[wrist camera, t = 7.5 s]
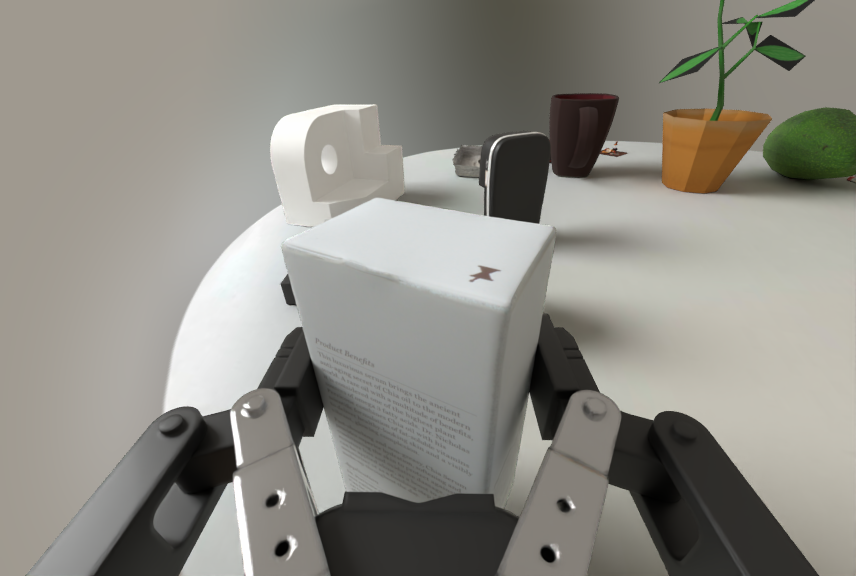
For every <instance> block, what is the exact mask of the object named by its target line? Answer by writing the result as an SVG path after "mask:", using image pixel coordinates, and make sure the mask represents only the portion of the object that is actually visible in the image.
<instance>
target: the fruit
mask: <svg viewBox="0 0 856 576" xmlns="http://www.w3.org/2000/svg"><path fill="white" fill-rule="evenodd" d="M763 157H764V159H765V160H766V162H767V163H768V165H769V166H770V168H771V169H772V170H774V171H776V172H778V173H780V174H782V175H784V176H787V177H789V178H799V179H825V178H840V177H848V176H853V175H855V174H856V115H855V114H853V113H852V112H851V111H850V110H846V109H837V108H821V109H815V110H810V111H805V112H803V113H800V114H798V115H796V116H794V117H791V118H789V119H788V120H786V121H785V122H783V123H782V124H780V125H779V126H777V127H776V128H775V129H774V130H773V131H772V132H771V133H770V134H769V135H768V137H767V139H766V141H765V143H764V146H763Z"/></svg>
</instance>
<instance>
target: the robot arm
mask: <svg viewBox="0 0 856 576" xmlns="http://www.w3.org/2000/svg"><path fill="white" fill-rule="evenodd" d="M529 392H530V396H531V400H532V404H533V407H534V411H535V415H536V418H537V422H538V426H539V430H540V433H541V437H542V440H553V442H552V444H551V446H550V447H549V448H548V450H547V452H546V454H545V456H544V459H543V461H542V464H541V466H540V469H539V471H538V474H537V476H536V478H535V481H534V483H533V486H532V488H531V491H530V493H529V495H528V498H527V500H526V503H525V505H524V508H523V510H522V513H521V515H520V517H518V516H517V515H515V514H513V513H511V512H510V511H507V510H505V509H503V508H500V507H497V506H495V502H494V494H464V493H456V494H452V495H449V496H445V497H441V498H437V499H433V500H429V501H425V502H421V503H416V502H412V501H409V500H405V499H402V498H399V497H395V496H392V495H389V494H385V493H382V492H345V494H344V499H343V503H342V504H340V505H337V506H334V507H332V508H329V509H327V510H325V511H323V512H322V513H320V514H319V512H318V509H317V506H316V503H315V500H314V496H313V493H312V490H311V487H310V483H309V480H308V477H307V473H306V470H305V467H304V463H303V460H302V457H301V454H300V450H299V448H298V447H299V444H300V442H301V439H302V437H314V434H315V431H316V428H317V425H318V422H319V419H320V416H321V413H322V410H323V407H324V406H323V402H322V399H321V395H320V391H319V387H318V383H317V380H316V376H315V372H314V368H313V364H312V360H311V357H310V353H309V349H308V346H307V342H306V339H305V335H304V331H303V327H297V328H295V329H294V330H293V331H292V332H291V333H290V334H288V335H287V336H286V338H285V339H284V341H283V343H282V345H281V347H280V349H279V350H278V352H277V354H276V358H274V359H273V361H272V363H271V365H270V367H269V369H268V370H267V372H266V374H265V376H264V378H263V379H262V381H261V383H260V385H259V387H258V388H257V390H254V391H251V392H249V393H247V394H245V395H244V396H242V397H241V398H240V399H239V400H237V402H236V403H235V404H234V405H233V407H232V409H230V410H226V411H223V412H219V413H215V414H211V415H207V416H203V417H202V415H201V414H200V412H199V411H198V409H196V408H194V407H179V408H176V409H173V410H170V411H168V412H166V413H165V414H163V415H161V416H160V417H159V418H157V419H156V420H155V421H154V422H153V423H152V424H151V425H150V426H149V427H148V428H147V430H146V431H145V432H144V433H143V434H142V436H141V437H140V438H139V439H138V441H137V442H136V443H135V444H134V445H133V446H132V448H131V449H130V450H129V451H128V452H127V454H126V455H125V456H124V457H123V459H122V460H121V461H120V462H119V463H118V465H117V466H116V467H115V468H114V469H113V471H112V472H111V473H110V474H109V475H108V477H107V478H106V479H105V481H103V483H102V484H101V485H100V486H99V487H98V489H97V490H96V491H95V493H94V494H93V495H92V496H91V497H90V498H89V499H88V501H87V502H86V503H85V504H84V506H83V507H82V508H81V509H80V510H79V512H78V513H77V514H76V515H75V517H74V518H73V519H72V520H71V521H70V522H69V524H68V525H67V526H66V527H65V528H64V530H63V531H62V532H61V533H60V535H59V536H58V537H57V538H56V539H55V541H54V542H53V543H52V544H51V545H50V547H49V548H48V549H47V550H46V551H45V553H44V554H43V555H42V556H41V557H40V559H39V560H38V561H37V563H35V565H34V566H33V567H32V568H31V569H30V571H29V572H28V573H27V574H26V575H25V576H179V574H180V572H181V570H182V568H183V566H184V564H185V563H186V561H187V559H188V557H189V555H190V553H191V551H192V549H193V548H194V546H195V544H196V542H197V540H198V538H199V536H200V534H201V533H202V531H203V529H204V527H205V525H206V523H207V521H208V519H209V518H210V516H211V514H212V512H213V510H214V508H215V506H216V504H217V503H218V501H219V499H220V497H221V495H222V493H223V491H224V489H225V487H226V486H227V484H228V483H231V482H233V485H234V493H235V501H236V510H237V518H238V526H239V535H240V543H241V551H242V559H243V568H244V576H587V573H588V568H589V564H590V560H591V556H592V551H593V547H594V543H595V539H596V534H597V530H598V526H599V522H600V517H601V513H602V509H603V505H604V500H605V496H606V492H607V488H608V484H611V485H614V486H617V487H620V488H623V489H626V490H629V491H630V493H631V496H632V498H633V500H634V502H635V504H636V506H637V508H638V510H639V512H640V515H641V517H642V519H643V521H644V523H645V525H646V527H647V529H648V531H649V534H650V536H651V538H652V540H653V542H654V544H655V546H656V548H657V551H658V553H659V555H660V557H661V559H662V561H663V563H664V565H665V567H666V570H667V572H668V574H669V576H819V575H818V574H817V572H816V571H815V570H814V568H813V567H812V566H811V564H810V563H809V562H808V561H807V559H806V558H805V557H804V555H803V554H802V553H801V551H800V550H799V549H798V547H797V546H796V545H795V543H794V542H793V541H792V540H791V538H790V537H789V536H788V534H787V533H786V532H785V530H784V529H783V528H782V526H781V525H780V524H779V523H778V521H777V520H776V519H775V517H774V516H773V515H772V513H771V512H770V511H769V509H768V508H767V507H766V505H765V504H764V503H763V502H762V500H761V499H760V498H759V496H758V495H757V494H756V492H755V491H754V490H753V488H752V487H751V486H750V484H749V483H748V482H747V481H746V479H745V478H744V477H743V475H742V474H741V473H740V471H739V470H738V469H737V467H736V466H735V465H734V463H733V462H732V461H731V460H730V458H729V457H728V456H727V454H726V453H725V452H724V450H723V449H722V448H721V446H720V445H719V444H718V442H717V441H716V440H715V439H714V437H713V436H712V435H711V433H710V432H709V431H708V430H707V429H706V428H705V427H704V426H703V425H702V424H701V423H700V422H698V421H697V420H695V419H694V418H692V417H690V416H688V415H685V414H683V413H679V412H674V411H664V412H661V413H659V414H658V415H657V416H656V417H655V419H654V421H653V420H649V419H646V418H642V417H638V416H634V415H631V414H628V413H625V412H622V411H620V410H619V408H618V406H617V405H616V404H615V403H614V402H613V401H612V400H611V399H610V398H609V397H607V396H605V395H604V394H601V393H600V392H599V389H598V387H597V385H596V383H595V381H594V379H593V377H592V375H591V373H590V371H589V369H588V366H587V364H586V362H585V360H584V359H583V356H582V354H581V352H580V350H579V348H578V346H577V344H576V341H575V339H574V337H573V336H572V335H571V334H569V333H568V332H567V331H566V330H565V329H564V328H554V326H553V324H552V321H551V319H550V317H549V315H548V314H543V315H542V321H541V327H540V333H539V339H538V344H537V350H536V355H535V361H534V367H533V373H532V379H531V385H530V390H529Z"/></svg>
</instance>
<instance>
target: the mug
mask: <svg viewBox="0 0 856 576" xmlns="http://www.w3.org/2000/svg"><path fill="white" fill-rule="evenodd" d="M618 100H619V97H618V96H616V95H611V94H593V93H592V94H591V93H588V94H557V95H554V96H552V98H551V107H550V144H551V162H552V169H553V172H554V174H556V175H557V176H563V177H586V176H588V175H589V173H590V171H591V170H592V168H593V166H594V164H595V162H596V160H597V158H598V156H599V154H600V152H601V149H602V147H603V145H604V142H605V140H606V137H607V135H608V132H609V129H610V127H611V124H612V121H613V118H614V115H615V112H616V108H617V105H618Z"/></svg>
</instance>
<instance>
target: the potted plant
mask: <svg viewBox="0 0 856 576" xmlns="http://www.w3.org/2000/svg"><path fill="white" fill-rule="evenodd" d="M813 1H814V0H796V1H793V2H791V3H789V4H786V5H784V6H782V7H779V8H777V9H775V10H772V11H769V12H767V13H765V14H762V15H760V16H758V15H756V16H755V17H754V18H752V19H751V20H750V21H749V22H747V21H746V20H745V19H744V18H743V17H741V18H738V19H734V20H731V21H728V22H724V23H722V11H723V6H724V0H721V1H720V7H719V13H718V46H719V47H717V48H714V49H711V50H708V51H705V52H702V53H699V54H696V55H694V56H690V57H687V58H685V59H682V60H681V61H680V62H679V64H677V65H676V66H675V67H674V68H673V70H671V71H670V72H669V73H668V74H667V75H666V76H665V77H664V78H663V79H662V80H661V81H660V82H659V83H661V82H664V81H668V80H671V79H674V78H678V77H681V76H684V75H687V74H691V73H694V72H697V71H698V70H699V69H700V68H701V67H702V66H703V65H704V64H705V63H706V62H708V60H709V59H710V58H711V57H713V56H714V55H715V54H716V52H717V51H719V69H720V79H719V90H718V102H717V107H716V109H680V110H678V109H677V110H672V111H668V112H664V113H663V153H662V183H663V184H664V185H665V186H666V187H668V188H671V189H675V190H679V191H683V192H693V193H709V192H715V191H717V190H718V189H719V188H720V186H721V185H722V184H723V182H724V181H725V180H726V179H727V177H728V176H729V175H730V173H731V172H732V171H733V169H734V168H735V167H736V166H737V164H738V163H739V162H740V160H741V159H742V158H743V156H744V155H745V154H746V153H747V151H748V150H749V149H750V147H751V146H752V145H753V143H754V142H755V141H756V140H757V138H758V137H759V136H760V134H761V133H762V132H763V130H764V129H765V128H766V127H767V125H768V124H769V123H770V121H771V120H772V118H771V117H770V116H769V115H768V114H763V113H756V112H749V111H741V110H723V106H724V79H725V78H726V77H727V76H728V75H729V74H730V73H731V72H732V71H734V69H736V67H738V66H739V65H740V64H741V62H743V61H744V60H745V59H746V58H747V57H748V56H749V55H750V54H751V53H752V52H753V51H754V50H756V51H758V52H759V53H761V54H762V55H764V56H766V57H767V58H769V59H770V60H772V61H774V62H775V63H777V64H778V65H780V66H782V67H783V68H785V69H787V70H788V71H790V70H791V69H792V68H793V67H794V66H795V65H796V64H797V63H799V62H800V61H801V60H802V59H803V58H804V57H805V55H803V54H802V53H800V52H798V51H797V50H795V49H793V48H791V47H790V46H788V45H787V44H785V43H783V42H782V41H780V40H778V39H777V38H775V37H773V36H772V35H770V36H768V37H767V38H766V39H765V40H764V41H762V42H761V43H760V44H758V45H757V46H756V43H757V38H758V34H759V31H760V28H761V25H762V22H752V21H753V20H754V19H755V18H768V17H795V16H796V15H798V14H799V13H800V12H801V11H802V10H804V9H805V8H806V7H807V6H808V5H810V4H811V3H812V2H813ZM739 23H745V26H743V27H742V28H741V29H740V30H739V31H738V32H737V33H736V34H734V35H733V36H732V37H731V38H730V39H729V40H728V41H727V42H725V43H724V44H723V30H722V24H739ZM745 28H746V29H747V32H748V35H749V38H750V41H751V44H752V47H753V48H752V49H751V50H750V51H749V52H748V53H747V54H746V55H745V56H744V57H743V58H741V59H740V60H739V61H738V62H737V63H736V64H735V65H734V66H733V67H732V68H731V69H730V70H729V71H728V72H727V73H725V74H724V49H725V47H726V46H727V45H728V44H729V43H730V42H731V41H732V40H733V39H734V38H735V37H736V36H737V35H738V34H740V32H742V31H743V30H744V29H745Z"/></svg>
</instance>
